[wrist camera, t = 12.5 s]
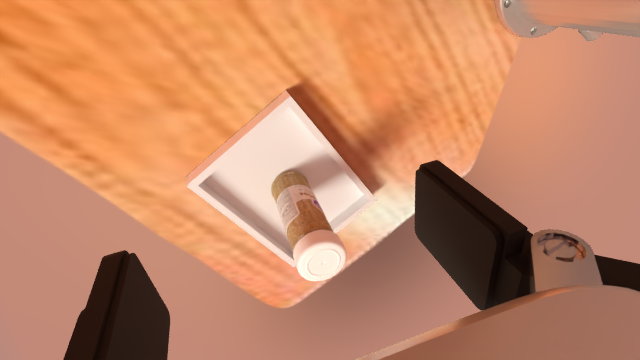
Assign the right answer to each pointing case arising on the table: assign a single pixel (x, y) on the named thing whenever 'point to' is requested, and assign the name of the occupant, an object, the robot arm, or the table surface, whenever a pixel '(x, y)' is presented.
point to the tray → (268, 163)
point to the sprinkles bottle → (307, 228)
